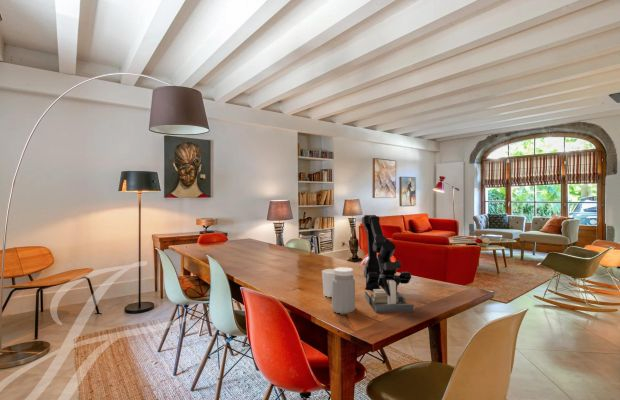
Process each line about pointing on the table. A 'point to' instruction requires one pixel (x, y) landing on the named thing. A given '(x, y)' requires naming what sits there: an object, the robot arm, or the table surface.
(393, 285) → the cream rectangular block
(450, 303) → the table surface
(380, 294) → the offcut stack
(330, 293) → the white cylinder
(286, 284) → the table surface
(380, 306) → the rack
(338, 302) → the jar
